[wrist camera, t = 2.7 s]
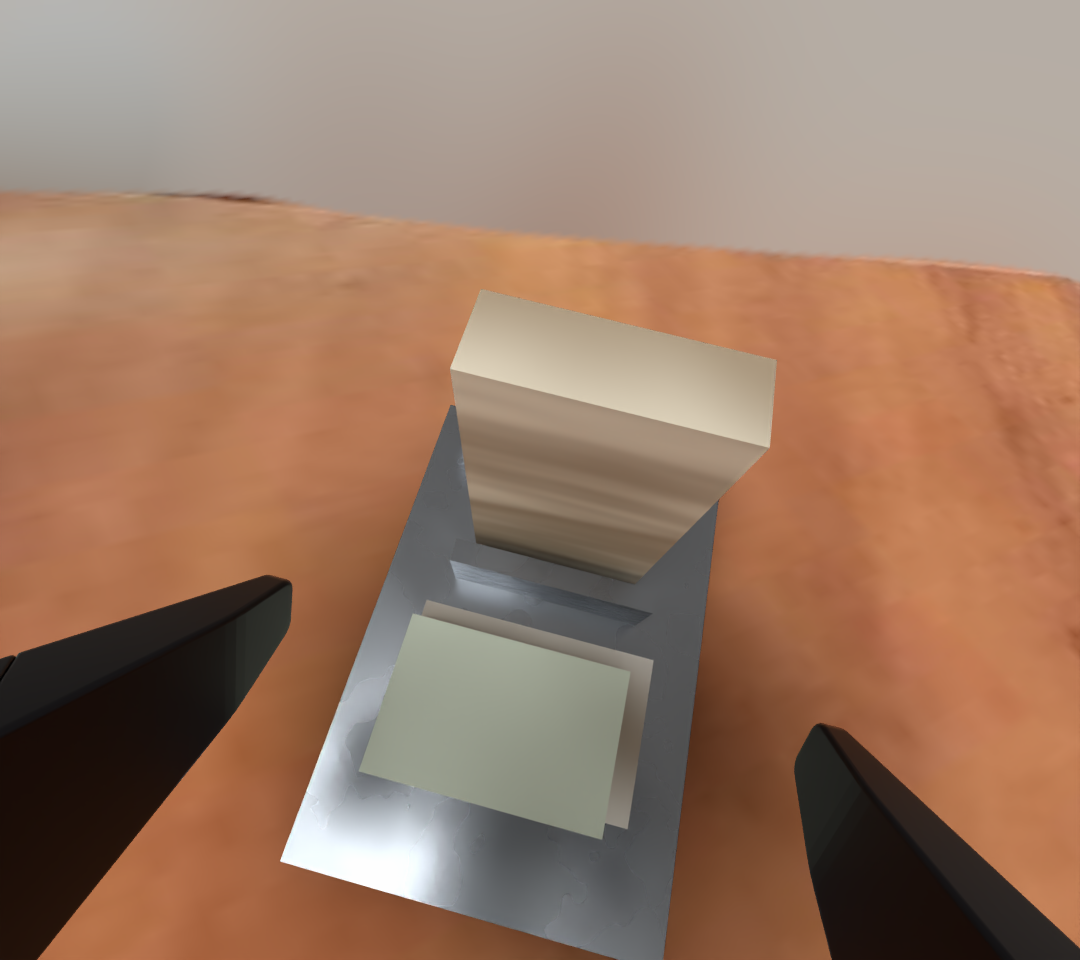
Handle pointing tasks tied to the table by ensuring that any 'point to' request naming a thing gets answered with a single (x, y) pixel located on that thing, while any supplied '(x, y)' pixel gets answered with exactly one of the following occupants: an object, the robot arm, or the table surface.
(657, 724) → the offcut rack
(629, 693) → the offcut lower
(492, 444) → the birch block
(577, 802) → the offcut upper
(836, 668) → the table surface
